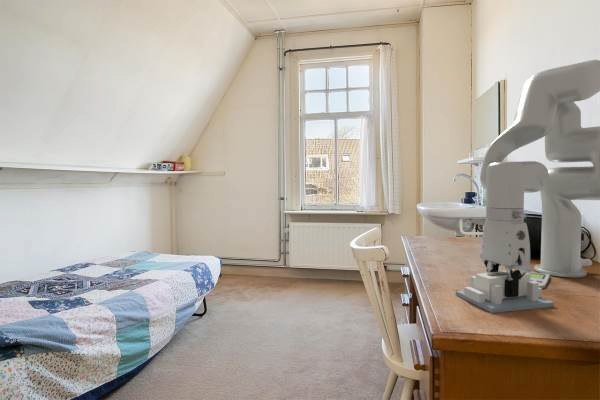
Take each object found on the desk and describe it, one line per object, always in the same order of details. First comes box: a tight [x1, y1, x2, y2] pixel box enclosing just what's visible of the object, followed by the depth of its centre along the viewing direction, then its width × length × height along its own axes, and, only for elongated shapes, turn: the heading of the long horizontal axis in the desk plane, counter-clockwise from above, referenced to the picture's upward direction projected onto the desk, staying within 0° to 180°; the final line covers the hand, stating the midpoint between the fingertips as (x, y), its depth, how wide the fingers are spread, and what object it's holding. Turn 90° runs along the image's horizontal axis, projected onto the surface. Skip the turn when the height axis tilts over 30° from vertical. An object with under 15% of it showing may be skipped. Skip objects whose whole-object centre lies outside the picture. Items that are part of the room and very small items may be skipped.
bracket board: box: [455, 275, 555, 314], centre depth 82 cm, size 16×12×5 cm
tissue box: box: [474, 269, 530, 301], centre depth 81 cm, size 12×4×6 cm, turn 107°
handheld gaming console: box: [528, 271, 551, 289], centre depth 98 cm, size 10×2×15 cm
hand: (502, 292), depth 82 cm, fingers closed on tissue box, 4 cm apart
